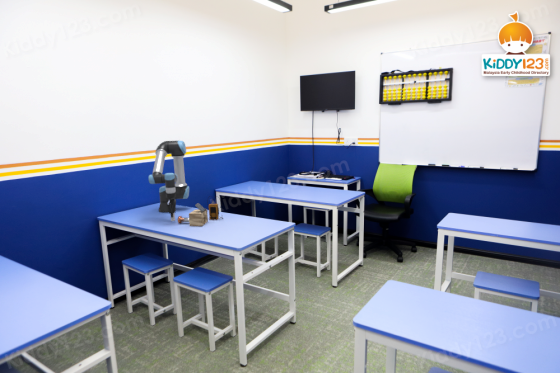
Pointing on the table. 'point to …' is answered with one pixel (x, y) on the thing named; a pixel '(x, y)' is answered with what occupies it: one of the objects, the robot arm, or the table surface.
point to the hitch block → (198, 217)
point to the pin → (182, 219)
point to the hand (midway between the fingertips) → (173, 220)
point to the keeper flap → (200, 207)
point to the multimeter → (213, 210)
